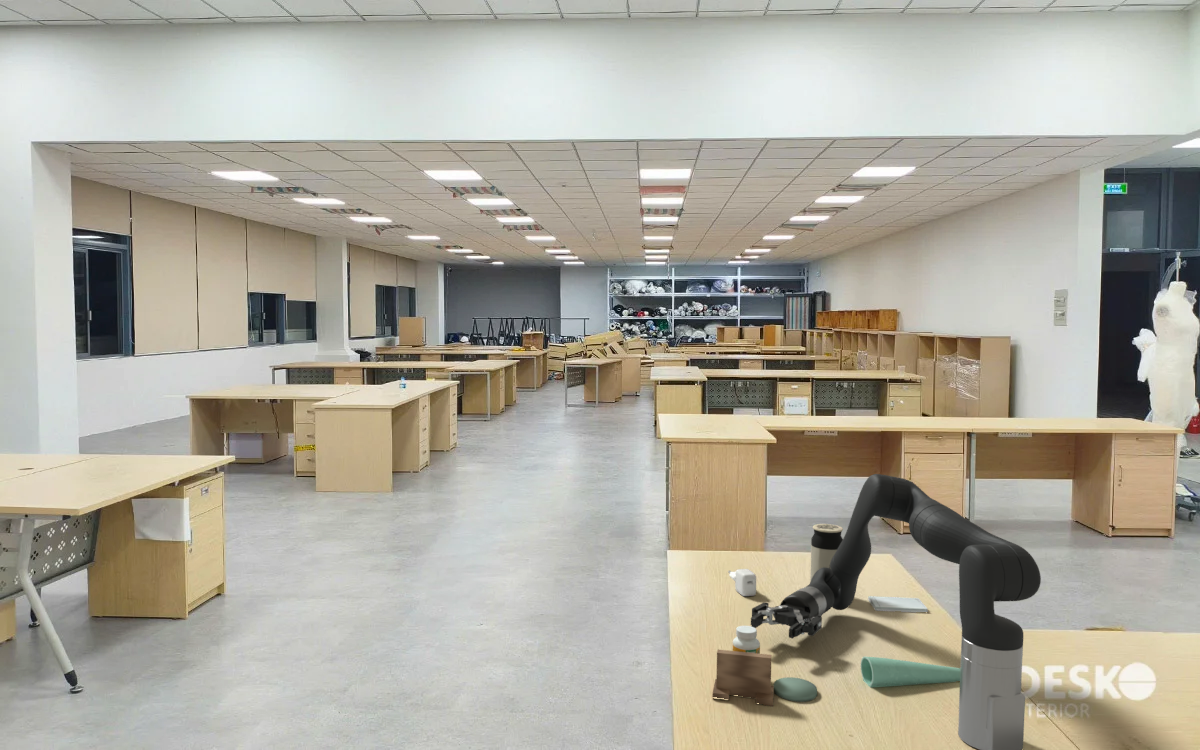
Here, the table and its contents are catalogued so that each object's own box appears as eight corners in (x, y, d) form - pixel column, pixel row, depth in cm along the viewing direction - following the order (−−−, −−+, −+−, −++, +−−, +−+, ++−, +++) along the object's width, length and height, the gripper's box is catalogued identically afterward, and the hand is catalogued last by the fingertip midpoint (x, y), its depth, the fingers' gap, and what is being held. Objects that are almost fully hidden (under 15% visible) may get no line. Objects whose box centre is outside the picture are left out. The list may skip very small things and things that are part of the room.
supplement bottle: (746, 668, 161) (747, 622, 161) (765, 678, 157) (766, 630, 156) (726, 674, 158) (727, 627, 158) (745, 684, 154) (746, 636, 153)
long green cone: (1003, 658, 155) (873, 663, 152) (1002, 685, 155) (872, 691, 152) (986, 647, 160) (860, 651, 157) (985, 673, 161) (859, 679, 157)
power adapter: (724, 584, 214) (725, 562, 214) (741, 582, 216) (742, 561, 215) (741, 597, 204) (741, 575, 203) (758, 596, 205) (759, 574, 204)
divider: (773, 691, 151) (774, 650, 150) (772, 706, 145) (773, 663, 145) (715, 685, 153) (716, 644, 153) (712, 699, 148) (713, 657, 147)
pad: (824, 699, 148) (824, 694, 148) (784, 703, 146) (784, 698, 146) (805, 680, 156) (805, 675, 156) (766, 684, 154) (766, 679, 154)
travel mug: (804, 591, 209) (806, 523, 208) (833, 589, 210) (835, 522, 209) (818, 601, 201) (819, 531, 200) (847, 600, 203) (849, 530, 201)
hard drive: (918, 597, 202) (868, 594, 203) (927, 608, 194) (875, 605, 195) (918, 603, 202) (867, 601, 204) (927, 615, 194) (875, 612, 195)
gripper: (775, 584, 183) (741, 603, 170) (834, 597, 174) (804, 619, 161) (774, 615, 183) (740, 637, 171) (833, 631, 175) (803, 655, 162)
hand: (771, 628), depth 166 cm, fingers open, 8 cm apart
